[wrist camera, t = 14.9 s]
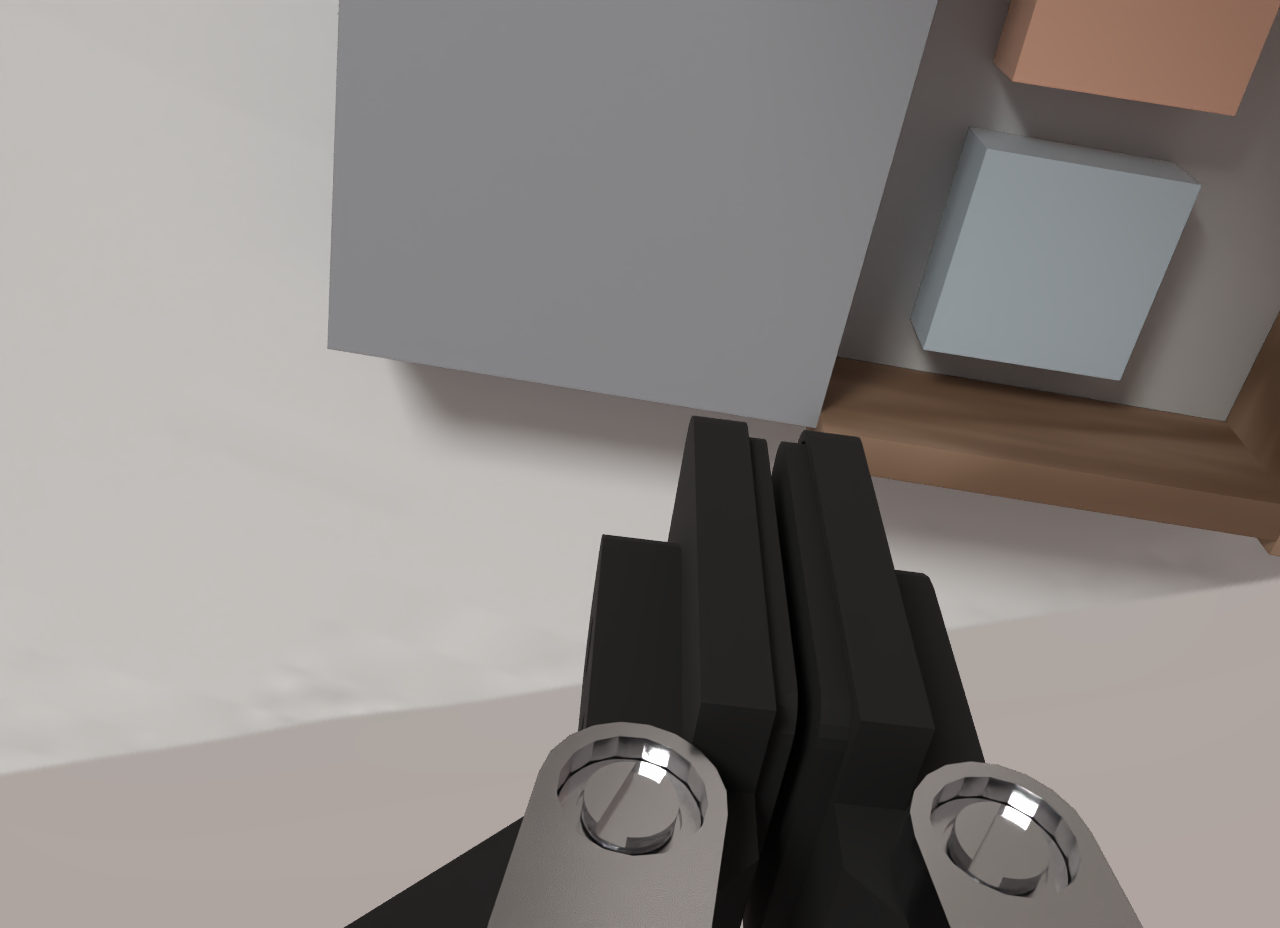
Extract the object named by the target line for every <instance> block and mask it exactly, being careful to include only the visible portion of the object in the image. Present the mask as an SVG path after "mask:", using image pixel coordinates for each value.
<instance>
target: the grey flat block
mask: <svg viewBox="0 0 1280 928" xmlns="http://www.w3.org/2000/svg"><path fill="white" fill-rule="evenodd" d="M937 2H938V0H339V21H338V51H337V81H336V111H335V141H334V170H333V200H332V230H331V260H330V289H329V319H328V349H332V350H338V351H344V352H350V353H356V354H363V355H369V356H375V357H381V358H387V359H393V360H400V361H406V362H412V363H418V364H424V365H430V366H436V367H443V368H449V369H455V370H461V371H467V372H473V373H480V374H486V375H492V376H498V377H504V378H510V379H517V380H523V381H529V382H535V383H541V384H547V385H553V386H560V387H566V388H572V389H578V390H584V391H590V392H597V393H603V394H609V395H615V396H621V397H627V398H634V399H640V400H646V401H652V402H658V403H664V404H671V405H677V406H683V407H689V408H695V409H701V410H707V411H714V412H720V413H726V414H732V415H738V416H744V417H751V418H757V419H763V420H769V421H775V422H781V423H788V424H794V425H800V426H806V427H812V428H816V426H817V423H818V419H819V416H820V412H821V409H822V405H823V402H824V398H825V395H826V391H827V388H828V384H829V381H830V377H831V374H832V370H833V367H834V363H835V360H836V356H837V353H838V349H839V346H840V342H841V339H842V335H843V332H844V328H845V325H846V321H847V318H848V314H849V311H850V307H851V304H852V300H853V297H854V293H855V290H856V286H857V283H858V279H859V276H860V272H861V269H862V265H863V262H864V258H865V255H866V251H867V248H868V244H869V241H870V237H871V234H872V230H873V227H874V223H875V220H876V216H877V213H878V209H879V205H880V202H881V198H882V195H883V191H884V188H885V184H886V181H887V177H888V174H889V170H890V167H891V163H892V160H893V156H894V153H895V149H896V146H897V142H898V139H899V135H900V132H901V128H902V125H903V121H904V118H905V114H906V111H907V107H908V104H909V100H910V97H911V93H912V90H913V86H914V83H915V79H916V76H917V72H918V69H919V65H920V62H921V58H922V55H923V51H924V48H925V44H926V41H927V37H928V34H929V30H930V27H931V23H932V20H933V16H934V13H935V9H936V6H937Z"/></svg>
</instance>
